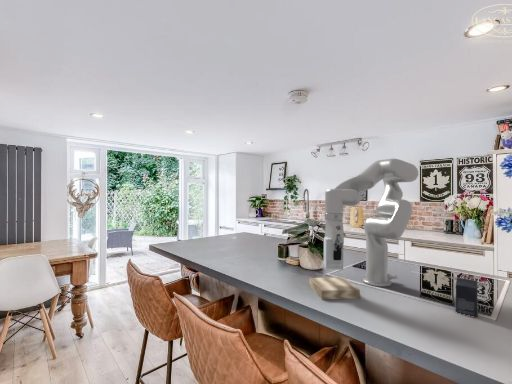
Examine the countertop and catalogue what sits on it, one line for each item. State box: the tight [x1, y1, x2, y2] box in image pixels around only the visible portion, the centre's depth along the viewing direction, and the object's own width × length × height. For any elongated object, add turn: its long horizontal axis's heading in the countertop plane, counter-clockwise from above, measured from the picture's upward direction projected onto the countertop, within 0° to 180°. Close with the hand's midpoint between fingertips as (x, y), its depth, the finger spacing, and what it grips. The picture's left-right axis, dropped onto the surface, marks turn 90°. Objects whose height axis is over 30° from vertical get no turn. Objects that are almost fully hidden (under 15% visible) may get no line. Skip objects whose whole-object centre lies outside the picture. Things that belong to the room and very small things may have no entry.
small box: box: [454, 277, 479, 318], centre depth 97 cm, size 11×6×10 cm, turn 141°
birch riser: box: [308, 276, 361, 300], centre depth 115 cm, size 16×16×4 cm
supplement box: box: [322, 236, 344, 271], centre depth 115 cm, size 7×7×13 cm
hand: (333, 257), depth 115 cm, fingers closed on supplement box, 8 cm apart
